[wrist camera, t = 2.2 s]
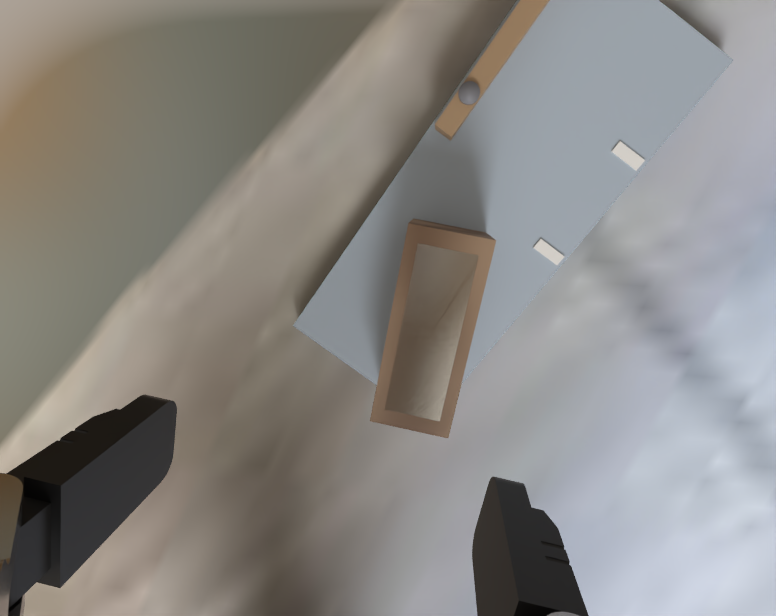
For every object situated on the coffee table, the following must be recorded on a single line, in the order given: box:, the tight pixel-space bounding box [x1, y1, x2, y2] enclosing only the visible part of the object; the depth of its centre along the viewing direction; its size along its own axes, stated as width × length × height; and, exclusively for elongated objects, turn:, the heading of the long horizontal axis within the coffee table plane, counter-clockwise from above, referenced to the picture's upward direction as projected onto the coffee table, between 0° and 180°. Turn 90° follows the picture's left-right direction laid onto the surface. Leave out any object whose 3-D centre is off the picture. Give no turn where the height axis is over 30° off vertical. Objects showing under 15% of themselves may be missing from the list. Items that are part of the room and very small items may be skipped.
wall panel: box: [293, 0, 733, 385], centre depth 24 cm, size 10×24×3 cm, turn 145°
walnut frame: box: [370, 218, 496, 438], centre depth 24 cm, size 4×10×4 cm, turn 170°
